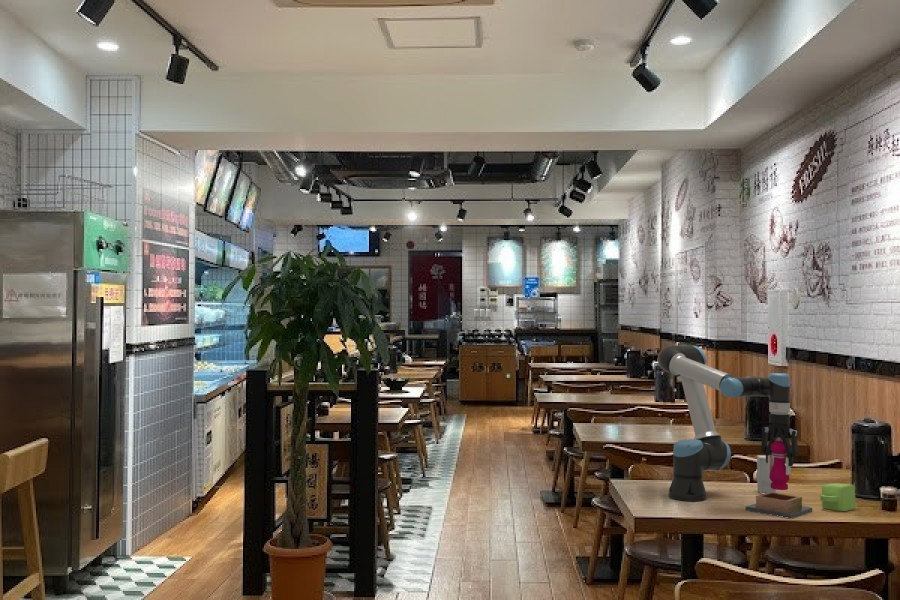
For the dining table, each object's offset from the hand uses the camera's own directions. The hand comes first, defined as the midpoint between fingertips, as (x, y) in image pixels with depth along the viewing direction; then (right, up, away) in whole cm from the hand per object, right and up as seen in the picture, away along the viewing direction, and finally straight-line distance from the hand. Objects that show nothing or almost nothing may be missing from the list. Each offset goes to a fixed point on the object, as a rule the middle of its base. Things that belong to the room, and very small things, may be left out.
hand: (779, 473), depth 325 cm
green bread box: (+26, -15, +7) cm, 31 cm away
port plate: (0, -15, 0) cm, 15 cm away
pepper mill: (0, -6, 0) cm, 6 cm away
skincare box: (+8, -16, +35) cm, 39 cm away
